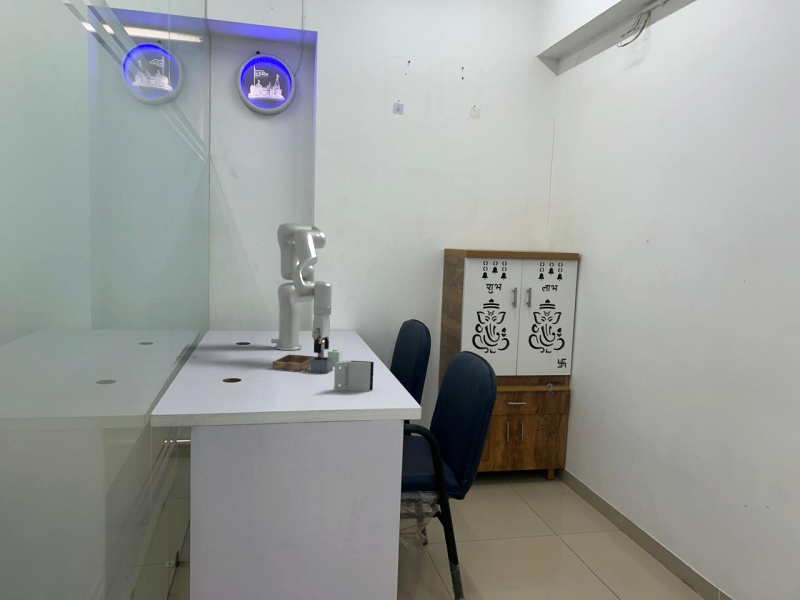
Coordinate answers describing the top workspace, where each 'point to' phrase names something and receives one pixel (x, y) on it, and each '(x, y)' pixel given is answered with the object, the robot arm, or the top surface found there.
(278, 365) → the tray
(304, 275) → the robot arm
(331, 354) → the pale green block
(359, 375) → the hinge
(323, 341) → the cylinder
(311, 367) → the block
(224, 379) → the top surface
